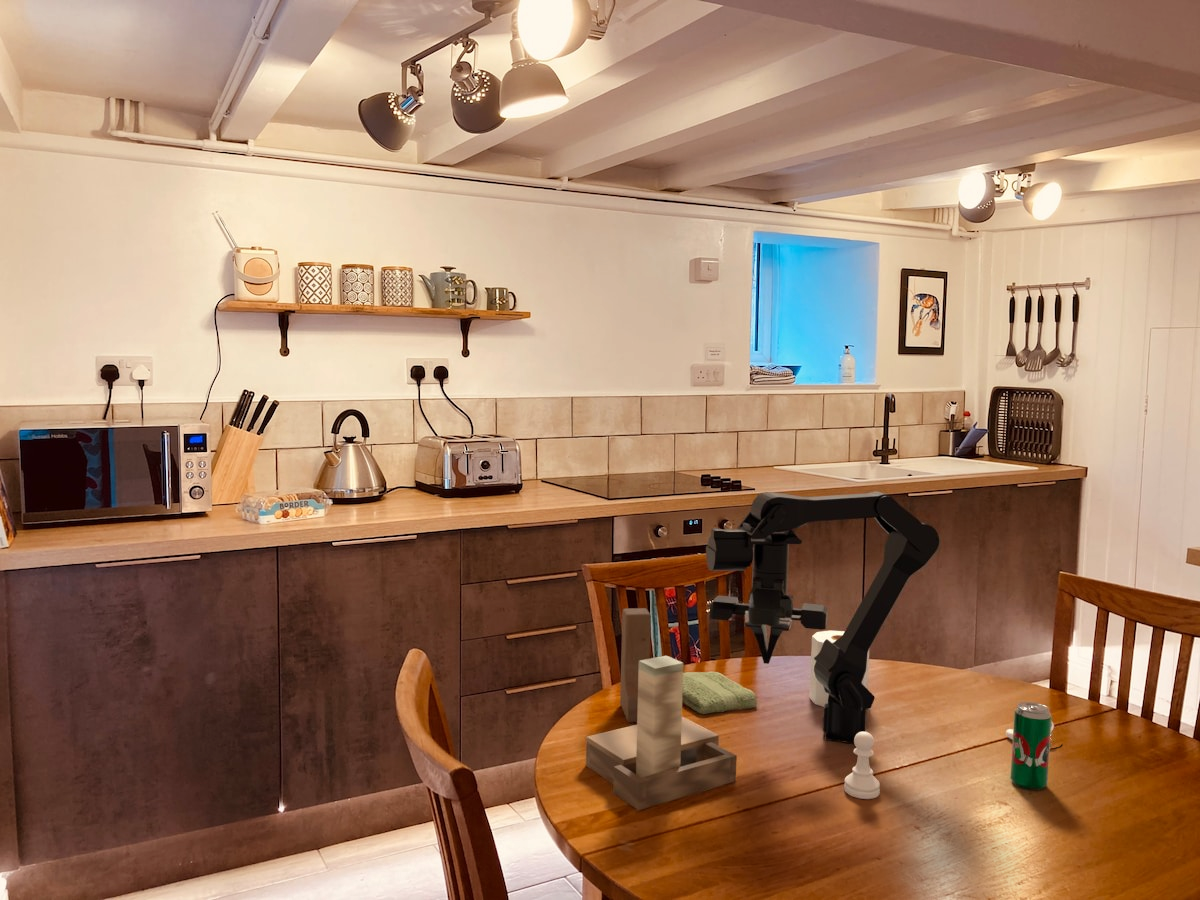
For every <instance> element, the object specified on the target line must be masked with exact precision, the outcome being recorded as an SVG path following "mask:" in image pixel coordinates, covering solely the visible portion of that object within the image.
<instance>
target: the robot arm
mask: <svg viewBox="0 0 1200 900" xmlns="http://www.w3.org/2000/svg"><path fill="white" fill-rule="evenodd" d="M871 518H874V519H875V521H876V522H877V524H879V526H880V527H881V528H882V529H883V530H884V531H885V532H886V533H887V534H888V536H887V539H886V541H885V545H884V554H883V562H882V564H881V566H880V568H879V570H878V572H877V573H876V575H875V577H874V579H873V580H872V583H871V584H870V586H869V588H868V590H867V592H866V593H865V595H864V596H863V598H862V600H861V602H860V604H859V606H858V607H857V609H856V611H855V613H854V614H853V617H851V620H850V621H849V623H848V626H847V627H846V628H845V632H844V634H843V635H842V636H841V637H840V638H839V639H838V640H836V641H835V642H833V643H832V642H830V641H829V640H828V639H826V640H825V641H824V643H823V646H822V648H821V651H820V652H819V654H818V655H817V656H816V657H814V660H816V663H815V666H814V673H815V677H816V679H817V680H818V681H819V682H820V683H821V684H822V685H823V687H824V690H825V692H826V693H828V694H829V697H828V704H825V705H824V707H823V720H822V721H823V722H822V732H823V733H825V736H824V738H825V740H826V741H834V742H842V743H849V744H854V738H855V736H856V734H857V733H859V732H867V728H866V727H867V726H866V722H867V710H870V709H871V708H872V707H873V704H874V701H875V697H876V696H874V694H873V693H872V692H871V691H870V690H869V688H868V689H867V688H866V687H865V686H864V685H863V684H862V681H863V678H864V675H865V672H866V666H867V655H868V651H869V652H870V648H871V646H872V645H873V643H874V642H875V640H876V637H877V636H878V634H879V632H880V631H881V629H882V627H883V626H884V624H885V622H886V620H887V618H888V617H889V615H890V612H891V611H892V609H893V607H894V606H895V604H896V602H897V601H898V600H899V599H898V598H899V597H900V596H901V593H902V591H903V590H904V588H905V586H906V585H907V582H908V580H910V578H911V577H912V576H913V575H915V573H917V572H918V571H920V570H921V569H923V568H924V567H926V565H927V564H928V563H929V561H930V560H931V559H932V557H934V555H935V554H936V553H937V551H938V550H939V547H940V544H941V540H940V537H939V533H938V531H937V530H936V528H934V527H933V526H932V525H929V524H926V523H923V522H921V520H919V519H918V518H917V517H915V516H914V515H913V514H911V512H909V511H908V510H907V509H905V507H903V506H901V505H900V504H899V502H898V501H896V499H894V497H893V496H892V495H890V494H888V493H884V492H882V491H881V492H880V491H872V492H868V493H852V494H851V493H849V494H839V495H838V494H835V495H833V494H832V495H820V496H818V495H817V496H799V495H793V494H788V493H779V492H770V491H769V492H768V491H764V492H760V493H759V494H758V495H757V496H756V497H755V498H754V499H753V501H752V503H751V505H750V510H749V512H748V513H747V515H746V516H745V517H744V518H743V519H742V521H741V522H740V523H739V525H738V527H737V529H722V528H711V529H710V536H709V537H708V541H707V545H706V546H705V560H706V564H707V565H706V566H707V568H708V570H709V571H710V572H716V571H717V572H721V571H722V572H725V571H726V572H727V571H730V572H731V571H732V572H733V571H737V572H738V571H741V572H742V571H746V570H747V568H748V567H749V568H750V567H751V565H752V571H751V572H752V575H751V576H752V578H751V589H750V593H749V595H748V603H741V602H739V599H738V598H739V597H738V596H730V595H717V596H715V597H714V599H712V601H711V603H710V605H709V619H710V620H717V621H726V622H727V621H729V620H730V619H731V618H733V616H734V615H736V616H737V615H738V616H744V619H745V621H744V623H743V625H744V627H745V628H749V629H750V630H751V631H752V633H753V634H754V637H755V639H756V642H757V644H758V649H759V651H760V654H761V658H762V661H763V664H767V665H769V664H770V662H771V659H772V656H773V654H774V650H775V647H776V645H777V642H778V640H779V639H780V638H781V634H782V633H783V632H787V631H788V632H789V631H790V629H791V626H792V624H793V623H792V622H793V621H800V624H801V625H802V626H803V627H804V629H809V630H810V629H811V630H821V631H822V630H823V631H824V630H826V629H827V624H828V612H829V611H828V610H829V609H828V607H827V606H826V605H825V604H817V603H816V604H815V603H806V602H804V603H803V604H802V607H801V608H796V607H794V598H793V595H789V594H788V577H789V576H788V575H789V552H790V550H789V549H790V545H801V544H802V543H803V541H802V539H801V538H799V537H798V535H797V534H796V533H795V532H794V529H798V528H800V527H802V526H804V525H807V524H810V523H814V522H827V521H842V520H843V521H844V520H855V519H857V520H859V519H871ZM767 626H769V627H770V631H769V639H768V638H767V637H768V636H767V635H768V634H767V633H768V632H767Z"/></svg>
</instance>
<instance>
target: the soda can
mask: <svg viewBox="0 0 1200 900" xmlns="http://www.w3.org/2000/svg"><path fill="white" fill-rule="evenodd" d="M1052 717H1053V716H1052V715H1051V713H1050V708H1049V707H1048V706H1046V705H1044V704H1042V703H1037V702H1033V701H1022V702H1019V703H1017V707H1016V708H1015V709H1014V713H1013V728H1012V729H1013V740H1012V747H1011V763H1010V764H1011V765H1010V780H1011V781H1012V782H1013V784H1014V785H1015V786H1017V787H1019V788H1022V789H1025V790H1030V791H1041V790H1043V789H1044V788H1045V787H1046V786H1048V775H1049V763H1050V751H1051V749H1050V746H1051V738H1050V736H1051V735H1052V734H1051V733H1052V732H1051V727H1052V723H1051V721H1052Z"/></svg>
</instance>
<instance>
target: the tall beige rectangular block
mask: <svg viewBox="0 0 1200 900" xmlns="http://www.w3.org/2000/svg"><path fill="white" fill-rule="evenodd" d="M683 673H684V662H683V661H681V660H678V659H675V658H674V657H671V656H668V655H663V656H658V657H650V659H645V660H640V661H639V670H638V711H637V723H636V725H637V752H636V775H638V776H639V777H641V778H642V777H645V776H649V775H653V774H656V773H660V772H663V771H667V770H671V769H674V768H678V767H680V761H681V727H682V716H683V702H682V692H683Z"/></svg>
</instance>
